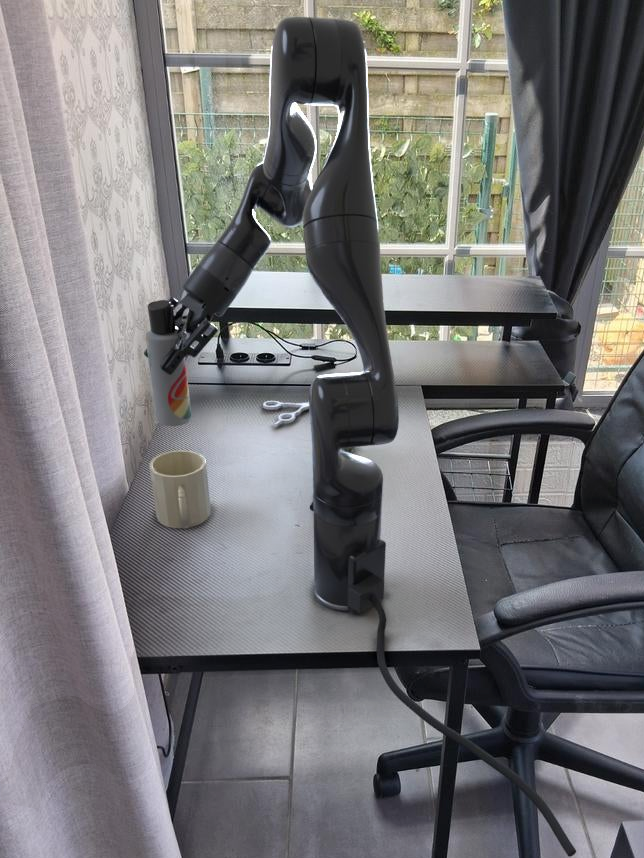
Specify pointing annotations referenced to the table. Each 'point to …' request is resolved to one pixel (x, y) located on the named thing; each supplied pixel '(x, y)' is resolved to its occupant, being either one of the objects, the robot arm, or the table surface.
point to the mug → (180, 488)
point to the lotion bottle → (166, 388)
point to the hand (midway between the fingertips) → (156, 364)
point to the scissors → (279, 404)
